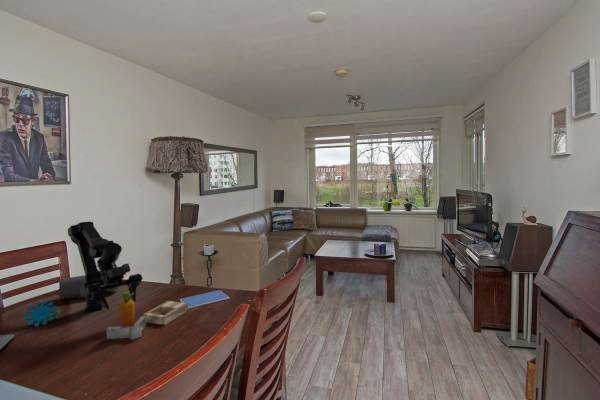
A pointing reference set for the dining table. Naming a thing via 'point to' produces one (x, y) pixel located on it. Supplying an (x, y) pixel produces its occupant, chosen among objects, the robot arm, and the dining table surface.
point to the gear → (41, 313)
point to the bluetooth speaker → (72, 287)
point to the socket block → (166, 312)
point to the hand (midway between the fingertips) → (121, 305)
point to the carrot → (127, 310)
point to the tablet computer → (204, 299)
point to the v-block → (127, 330)
